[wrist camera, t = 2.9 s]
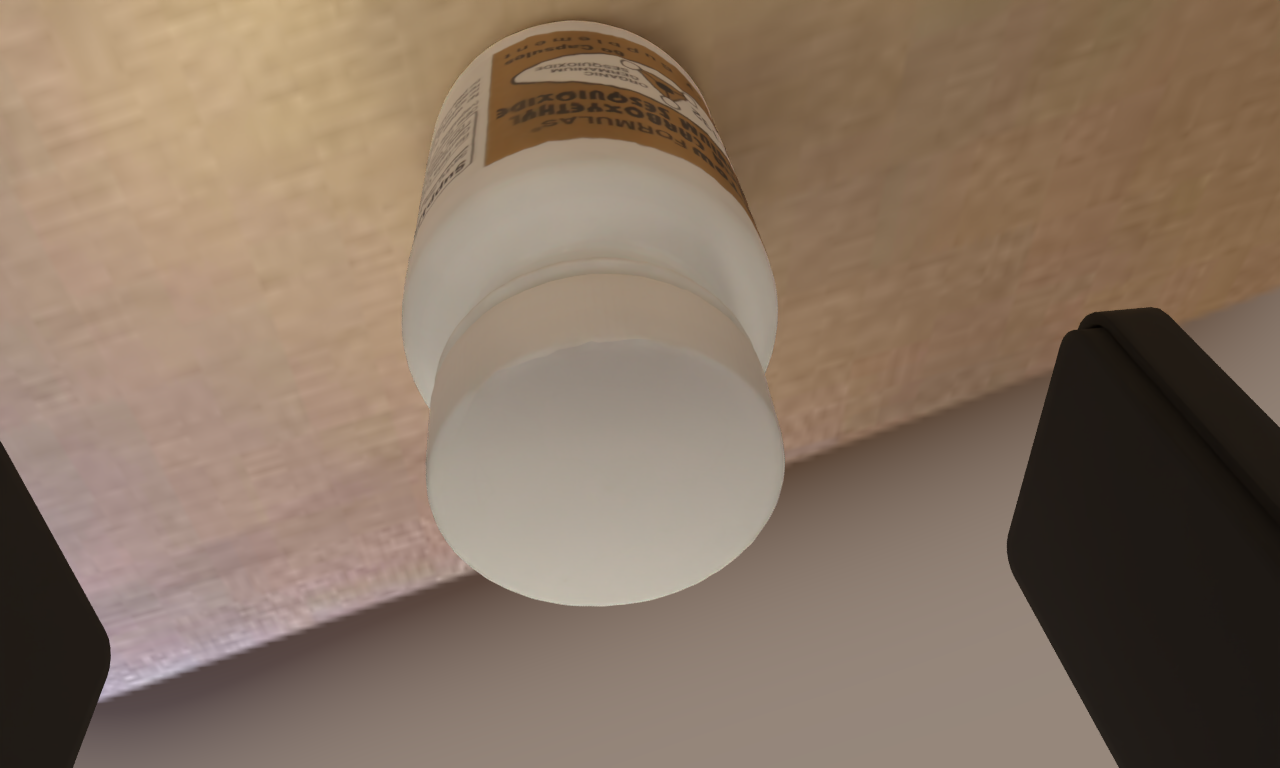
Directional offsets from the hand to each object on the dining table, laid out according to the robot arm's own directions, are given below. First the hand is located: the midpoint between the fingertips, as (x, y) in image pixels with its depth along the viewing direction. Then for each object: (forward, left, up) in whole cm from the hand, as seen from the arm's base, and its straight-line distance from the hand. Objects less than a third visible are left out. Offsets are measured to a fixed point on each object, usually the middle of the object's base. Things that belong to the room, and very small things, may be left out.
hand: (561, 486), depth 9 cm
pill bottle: (0, 0, -8) cm, 8 cm away
